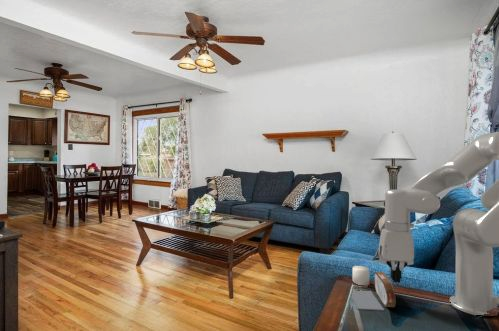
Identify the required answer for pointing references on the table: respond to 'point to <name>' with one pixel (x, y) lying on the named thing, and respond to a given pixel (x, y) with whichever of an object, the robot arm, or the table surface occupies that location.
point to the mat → (366, 300)
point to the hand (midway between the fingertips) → (395, 280)
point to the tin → (384, 289)
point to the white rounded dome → (361, 275)
